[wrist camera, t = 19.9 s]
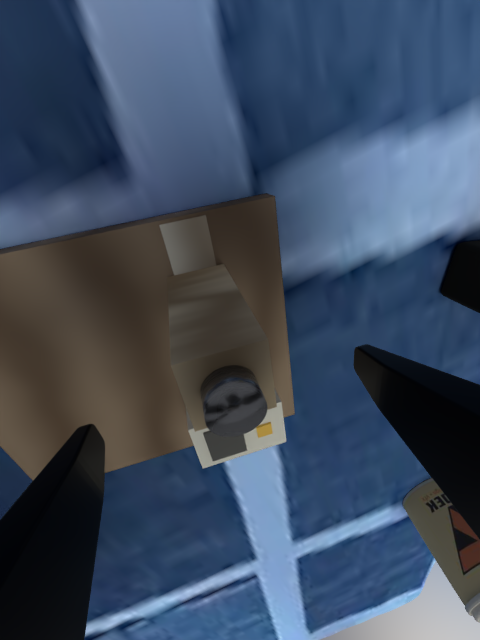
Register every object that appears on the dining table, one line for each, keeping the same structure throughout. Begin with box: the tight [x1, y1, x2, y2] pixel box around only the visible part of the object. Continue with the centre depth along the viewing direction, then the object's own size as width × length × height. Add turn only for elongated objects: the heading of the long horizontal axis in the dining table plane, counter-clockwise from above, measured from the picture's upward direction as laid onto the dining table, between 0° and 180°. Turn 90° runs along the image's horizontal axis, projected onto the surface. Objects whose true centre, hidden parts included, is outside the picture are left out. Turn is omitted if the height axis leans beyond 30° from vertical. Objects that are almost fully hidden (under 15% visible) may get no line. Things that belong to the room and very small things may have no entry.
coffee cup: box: [403, 478, 480, 622], centre depth 36 cm, size 9×9×12 cm
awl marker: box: [167, 264, 277, 437], centre depth 13 cm, size 3×3×9 cm
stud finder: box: [186, 388, 286, 468], centre depth 20 cm, size 6×4×3 cm, turn 99°
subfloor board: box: [0, 193, 295, 480], centre depth 19 cm, size 20×17×2 cm
